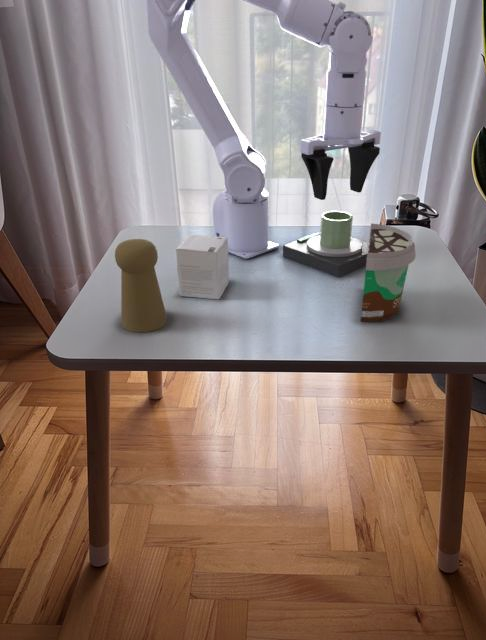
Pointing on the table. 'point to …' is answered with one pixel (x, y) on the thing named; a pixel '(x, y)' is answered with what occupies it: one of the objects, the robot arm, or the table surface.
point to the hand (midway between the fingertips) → (338, 194)
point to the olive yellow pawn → (139, 286)
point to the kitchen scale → (327, 255)
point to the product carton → (203, 266)
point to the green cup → (336, 229)
